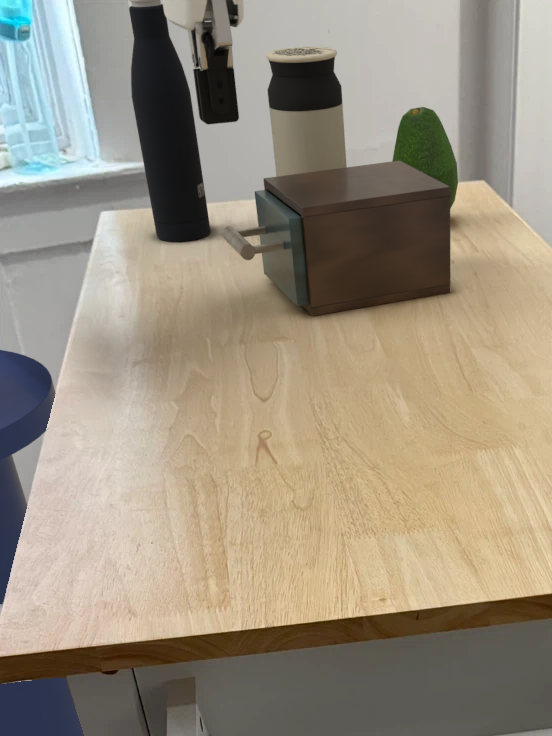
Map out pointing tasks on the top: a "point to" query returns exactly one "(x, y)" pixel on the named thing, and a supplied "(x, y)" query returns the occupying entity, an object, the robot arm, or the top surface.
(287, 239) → the drawer
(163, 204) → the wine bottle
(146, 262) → the top surface
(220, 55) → the robot arm
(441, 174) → the avocado
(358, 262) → the cabinet
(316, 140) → the travel mug
